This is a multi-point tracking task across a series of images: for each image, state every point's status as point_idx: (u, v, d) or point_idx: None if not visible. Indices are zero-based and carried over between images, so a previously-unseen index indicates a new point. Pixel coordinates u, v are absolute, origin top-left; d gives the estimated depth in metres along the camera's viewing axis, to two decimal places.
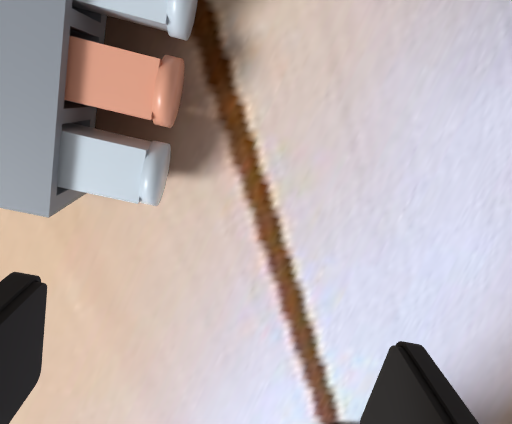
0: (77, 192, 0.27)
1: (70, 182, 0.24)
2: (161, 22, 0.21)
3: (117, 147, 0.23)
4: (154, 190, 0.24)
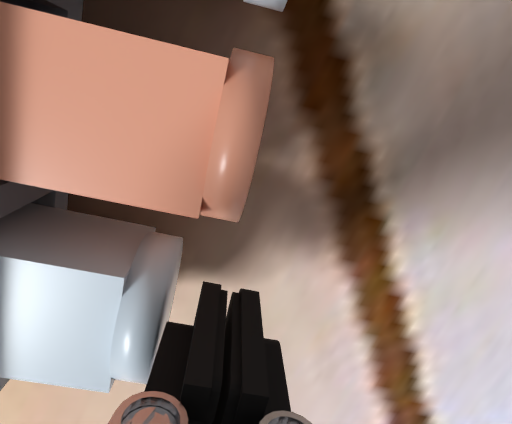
0: None
1: None
2: None
3: (51, 272, 0.09)
4: (147, 369, 0.10)
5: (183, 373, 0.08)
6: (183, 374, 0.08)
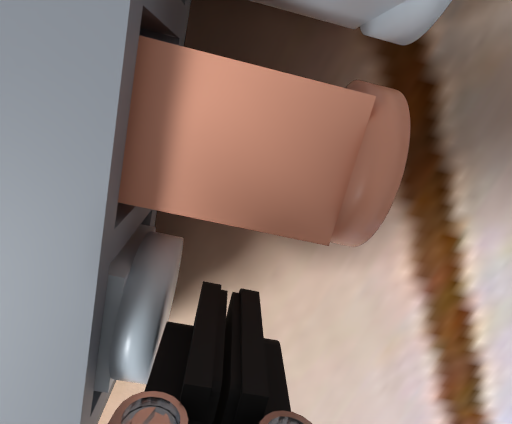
0: None
1: None
2: None
3: None
4: (146, 369, 0.10)
5: (183, 373, 0.08)
6: (183, 374, 0.08)
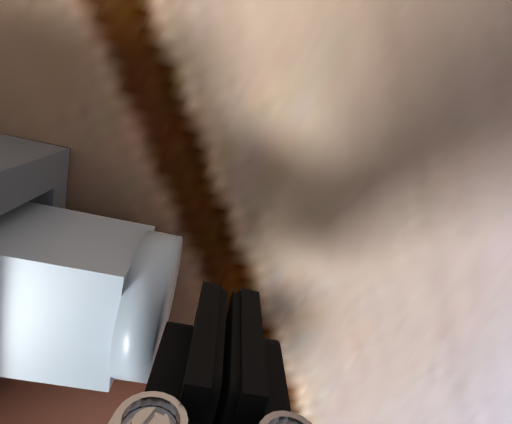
0: None
1: None
2: (100, 388, 0.10)
3: None
4: None
5: (183, 373, 0.08)
6: (183, 374, 0.08)
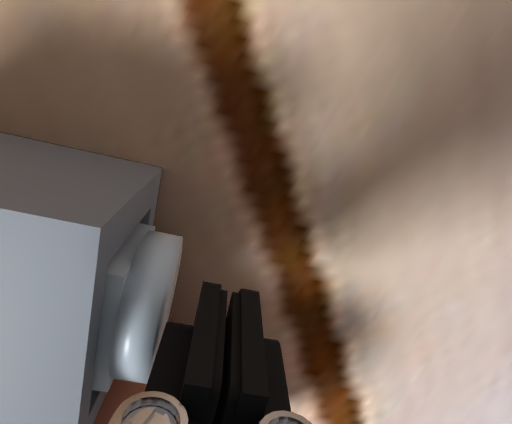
0: None
1: None
2: (100, 388, 0.10)
3: None
4: None
5: (183, 373, 0.08)
6: (183, 374, 0.08)
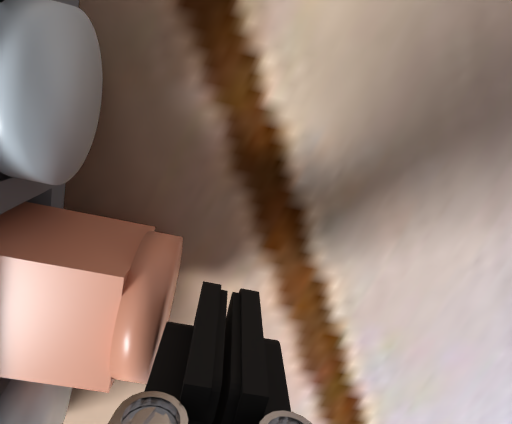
0: None
1: None
2: None
3: None
4: None
5: (183, 373, 0.08)
6: (183, 374, 0.08)
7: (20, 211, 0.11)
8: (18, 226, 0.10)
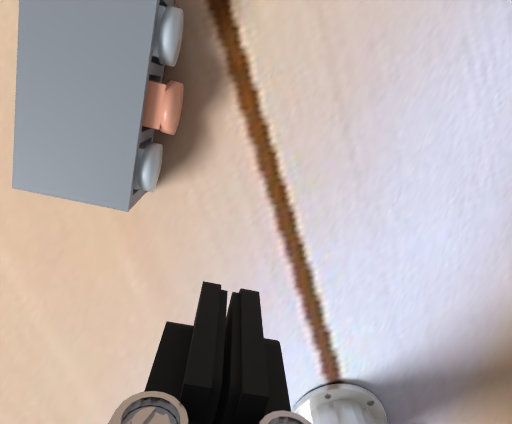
0: (141, 192, 0.35)
1: None
2: (154, 55, 0.29)
3: None
4: (149, 179, 0.31)
5: (183, 373, 0.08)
6: (183, 374, 0.08)
7: None
8: None
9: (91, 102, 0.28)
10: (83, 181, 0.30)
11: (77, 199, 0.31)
